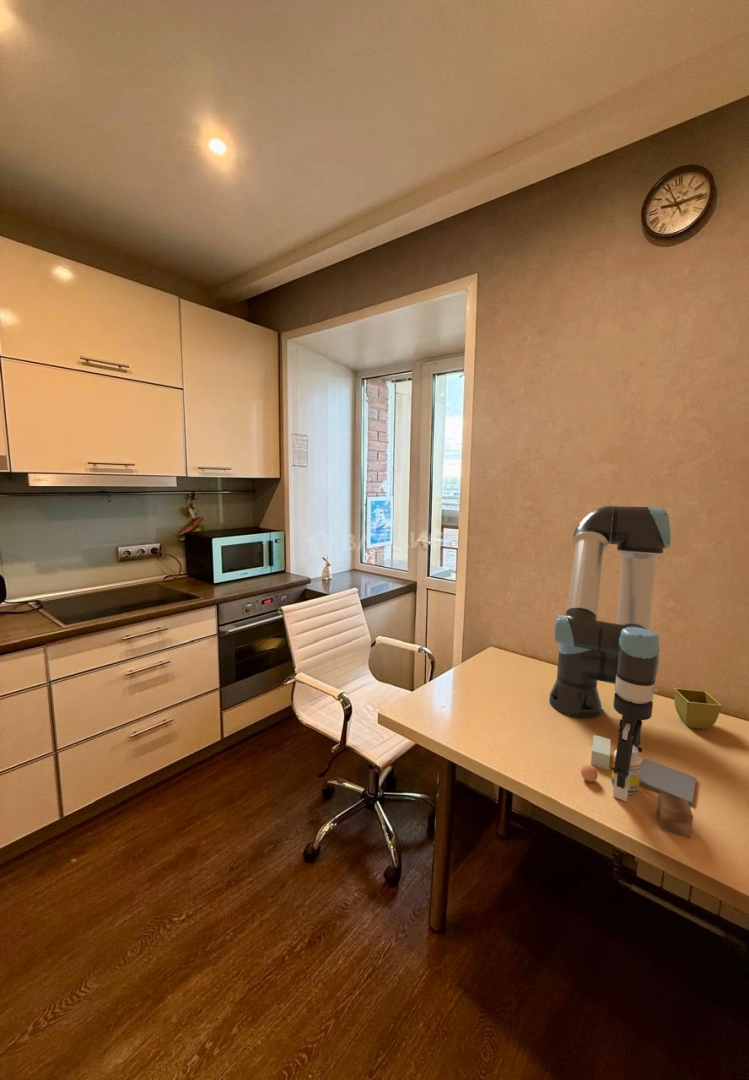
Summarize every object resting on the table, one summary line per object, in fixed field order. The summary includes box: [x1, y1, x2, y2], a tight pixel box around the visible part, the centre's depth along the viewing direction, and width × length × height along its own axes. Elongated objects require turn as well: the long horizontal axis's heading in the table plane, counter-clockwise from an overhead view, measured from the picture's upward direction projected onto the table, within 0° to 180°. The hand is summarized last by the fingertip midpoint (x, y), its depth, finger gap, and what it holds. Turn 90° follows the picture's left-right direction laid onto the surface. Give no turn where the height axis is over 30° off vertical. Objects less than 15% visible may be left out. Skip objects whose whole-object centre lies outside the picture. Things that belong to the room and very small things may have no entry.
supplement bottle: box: [611, 745, 642, 795], centre depth 98 cm, size 6×6×10 cm
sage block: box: [590, 734, 611, 771], centre depth 109 cm, size 4×8×4 cm, turn 150°
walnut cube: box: [656, 792, 694, 839], centre depth 88 cm, size 5×5×5 cm
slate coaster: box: [639, 757, 697, 807], centre depth 101 cm, size 11×11×1 cm
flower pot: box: [673, 687, 722, 730], centre depth 126 cm, size 9×9×9 cm
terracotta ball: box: [580, 764, 599, 783], centre depth 101 cm, size 4×4×4 cm
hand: (624, 786), depth 99 cm, fingers open, 9 cm apart
